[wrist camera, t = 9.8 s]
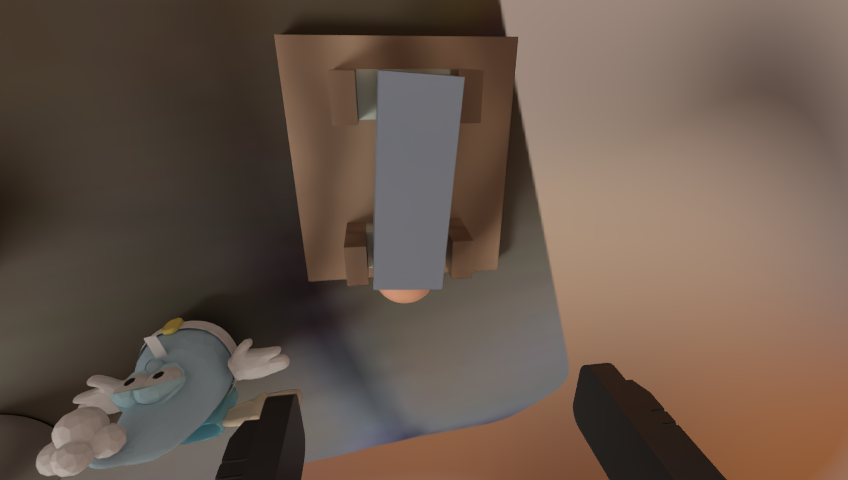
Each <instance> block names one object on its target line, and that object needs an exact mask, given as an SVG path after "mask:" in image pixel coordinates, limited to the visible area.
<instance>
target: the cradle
mask: <svg viewBox="0 0 848 480" xmlns="http://www.w3.org/2000/svg"><path fill="white" fill-rule="evenodd" d="M274 38H275V45H276V52H277V59H278V66H279V73H280V80H281V88H282V95H283V102H284V109H285V116H286V123H287V131H288V138H289V145H290V152H291V159H292V166H293V173H294V181H295V188H296V195H297V202H298V209H299V216H300V223H301V231H302V238H303V245H304V252H305V259H306V266H307V274H308V281H325V280H341V279H347V286H356V285H369V278H372V277H373V214H374V170H375V127H376V83H377V69H384V70H397V71H409V72H422V73H435V74H447V75H454V76H461V77H465V80H464V89H463V98H462V108H461V117H460V126H459V136H458V145H457V154H456V164H455V173H454V182H453V192H452V201H451V210H450V220H449V229H448V238H447V248H446V257H445V266H444V273H449V274H450V277H451V279H463V278H472V271H483V270H497V267H498V256H499V244H500V233H501V222H502V211H503V200H504V189H505V178H506V167H507V155H508V144H509V133H510V122H511V111H512V100H513V89H514V77H515V66H516V54H517V44H518V37H475V36H369V35H274Z"/></svg>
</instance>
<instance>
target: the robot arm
mask: <svg viewBox="0 0 848 480" xmlns="http://www.w3.org/2000/svg"><path fill="white" fill-rule="evenodd" d="M573 412H574V417H575V420H576V423H577V425H578V427H579V429H580V431H581V432H582V434H583V436H584V437H585V439H586V441H587V443H588V444H589V446H590V448H591V449H592V451H593V453H594V454H595V456H596V458H597V459H598V461H599V463H600V465H601V466H602V468H603V470H604V471H605V473H606V474H607V476H608V478H609V479H610V480H726V478H725V477H724V476H723V475H722V474H721V473H720V472H719V471H718V470H717V468H716V467H715V466H714V465H713V464H712V463H711V462H710V461H709V459H708V458H707V457H706V456H705V455H704V454H703V453H702V451H701V450H700V449H699V448H698V447H697V446H696V444H695V443H694V442H693V441H692V440H691V439H690V438H689V436H688V435H687V434H686V433H685V432H684V431H683V430H682V428H681V427H680V426H679V425H676V422H675V420H674V419H673V418H672V417H671V416H670V415H669V414H668V412H665V411H664V408H663V407H662V406H661V404H660V403H659V402H658V401H657V400H656V399H655V397H654V396H653V395H652V394H651V393H650V392H649V391H647V390H646V389H644V388H643V387H641V386H640V385H638V384H637V383H636V382H634V381H633V380H625V378H624V377H623V376H622V375H621V374H620V372H619V371H618V370H617V369H616V368H615V366H614V365H612V364H611V363H602V364H591V365H584V366H582V367H581V369H580V374H579V378H578V383H577V388H576V393H575V397H574V402H573ZM53 429H54V428H52V427H51V426H49V425H47V424H44V423H42V422H40V421H37V420H34V419H30V418H27V417H21V416H15V415H0V480H60V479H61V478H62V477H60V476H58V475H52V476H46V475H43V474H40V473H39V471H38V469H37V468H36V460H37V456H38V454H39V453H40V451H41V450H42V449H43V448H44V447H45V446H47V445H48V444H50V443H52V442H53V441H52V432H53ZM304 457H305V434H304V428H303V422H302V416H301V411H300V405H299V399H298V396H297V394H288V395H278V396H269V397H267V398H266V399H265V402H264V405H263V408H262V411H261V415H260V418H259V419H255V420H246V421H244V422H243V423H242V424H241V426H240V427H239V428H238V429H237V431H236V432H235V433H234V434H233V435H232V437H231V438H230V439H229V442H228V445H227V447H226V450H225V453H224V456H223V458H222V464H220V467H219V469H218V472H217V475H216V478H215V480H301V477H302V471H303V464H304Z"/></svg>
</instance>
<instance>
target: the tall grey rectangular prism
mask: <svg viewBox="0 0 848 480" xmlns="http://www.w3.org/2000/svg"><path fill="white" fill-rule="evenodd" d="M464 80H465V77H461V76H454V75H447V74H435V73H422V72H409V71H397V70H384V69H377V83H376V127H375V170H374V214H373V290H379V291H380V292H381V293H382V294H383V295H384V296H385V297H386V298H388V299H390V300H392V301H394V302H398V303H411V302H415V301H417V300H420V299H421V298H423V297H424V296H425V295H427V294H428V292H429V291H430V290H442V285H443V275H444V266H445V257H446V248H447V238H448V229H449V220H450V210H451V201H452V192H453V182H454V173H455V164H456V154H457V145H458V136H459V126H460V117H461V108H462V98H463V89H464Z"/></svg>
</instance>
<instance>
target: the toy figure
mask: <svg viewBox="0 0 848 480" xmlns="http://www.w3.org/2000/svg"><path fill="white" fill-rule="evenodd" d="M161 333H163V334H161ZM158 334H161V335H160V336H158V337H156V336H157V335H158ZM143 339H144V340H145V344H144V345H143V346H142V348H141V350H140V352H139V356H138V362H137V365H136V368H135V372H134V373H132V374H131V375H130V376H129V377H128V378H127V379H126V380H119V379H116V378H113V377H109V376H105V375H93V376H92V377H90V378H89V379H88V381H87V385H88V386H92V387H97V388H94V389H91V390H88V391H85V392H82V393H81V394H79V395H77V396H76V397H75V398H74V399H73V403H74V404H80V405H79V406H78V408H77V409H76V410H74V411H72V412H70V413H68V414H66V415H64V416H63V417H62V418H61V419H60V420H59V421H58V422H57V424H56V425H55V427H54V429H53V432H52V441H53V442H52V443H50V444H48V445H47V446H45V447H44V448H43V449H42V450H41V451H40V453H39V454H38V456H37V460H36V468H37V469H38V471H39V473H40V474H43V475H46V476H52V475H58V476H60V477H65V476H73V475H76V474H78V473H80V472H81V471H82V470H83V469H85V468H86V467H87V466H89V467H90V468H96V469H104V468H111V467H116V466H121V465H136V464H141V463H145V462H149V461H152V460H155V459H156V458H158V457H160V456H162V455H164V454H166V453H168V452H169V451H171V450H172V449H173V448H175V447H176V446H177V445H179V444H187V443H194V442H199V441H203V440H207V439H210V438H213V437H216V436H219V435H220V434H221V433H222V432H223V430H224V429H225V428H226V426H228V427H230V426H241V424H242V423H243V422H244V421H246V420H255V419H259V418H260V415H261V411H262V408H263V405H264V402H265V399H266V398H267V397H269V396H278V395H288V394H297V396H298V399H299V405H301V401H302V393H301V391H300V390H298V389H294V390H285V391H280V392H275V393H263V394H260V395H258V396H257V397H256V398H255V399H252V400H249V401H247V402H244V403H241V404H239V405H236V406H235V403H236V401H237V397H238V392H237V391H236V389H235V387H234V386H235V384H236V381H237V380H239V381H240V380H243V379H257V378H262V377H264V376H267V375H270V374H272V373H275V372H277V371H280V370H283V369H285V368H287V367H288V365H289V361H290V360H289V358H288V356H287V355H285V354H279V353H280V352H281V347H279V346H274V347H267V348H252V349H248V348H249V347H250V346H251V345H252V343H253V342H252V339H250V338H249V339H245V340H244V341H243V342H242V343H241V344H240V345H239V346H238V347H237V346H236V344H235V342H234V341H233V339H232V338H231V336H230V335H229V334H228V333H227V332H226V331H225V330H224V329H222V328H221V327H219V326H217V325H215V324H213V323H209V322H206V321H193V320H192V321H185V322H184V320H183V319H182V318H176V319H172V320H170V321H169V322H167V323H166V324H165V325H164V327H163V328H162V329H160V330H158V331H157V332H155V333H154V334H153V335H152V336H150V337H147V338H143ZM146 345H148V346H147V347H146ZM145 347H146V348H145ZM234 377H235V380H234ZM233 380H234V384H233V385H231V384H232V382H233ZM120 411H121V412H122V415H121V417H120V419H119V420H118V422H117V423H110V419H109V417H108V415H107V414H114V413H117V412H120Z"/></svg>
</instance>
